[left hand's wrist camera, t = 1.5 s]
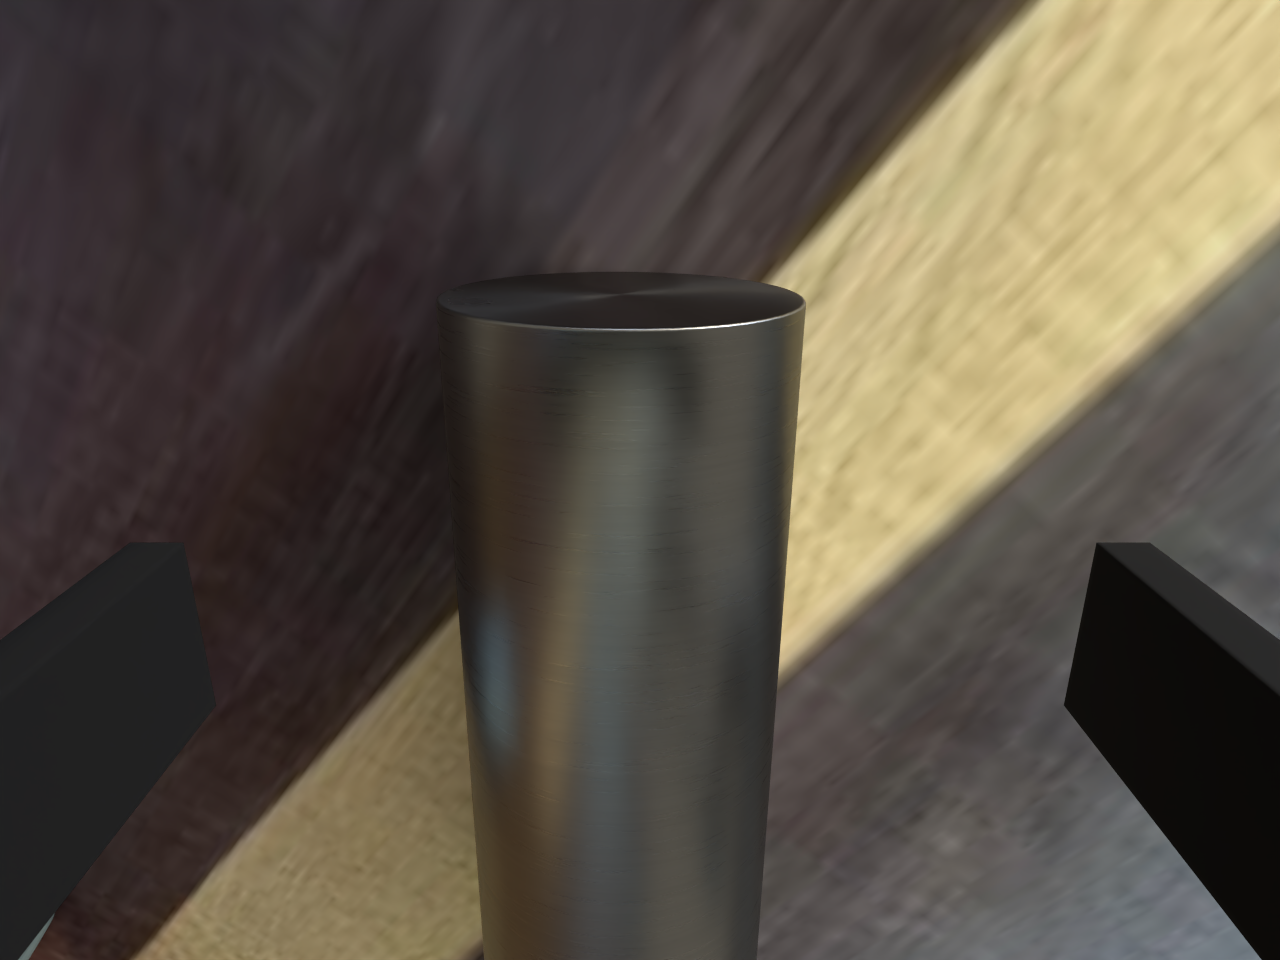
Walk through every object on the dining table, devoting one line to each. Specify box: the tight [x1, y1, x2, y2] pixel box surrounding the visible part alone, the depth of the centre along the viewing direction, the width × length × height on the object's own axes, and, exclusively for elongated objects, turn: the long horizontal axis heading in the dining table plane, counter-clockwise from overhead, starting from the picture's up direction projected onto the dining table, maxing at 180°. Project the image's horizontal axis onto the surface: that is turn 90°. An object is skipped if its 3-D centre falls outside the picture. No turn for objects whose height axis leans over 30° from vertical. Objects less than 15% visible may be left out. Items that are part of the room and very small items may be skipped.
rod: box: [436, 272, 806, 960], centre depth 24 cm, size 22×8×8 cm, turn 0°
